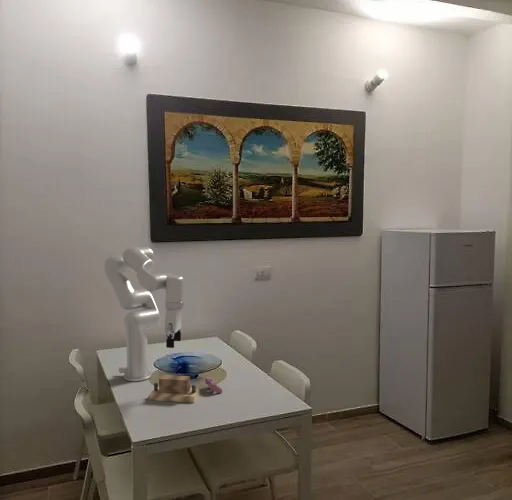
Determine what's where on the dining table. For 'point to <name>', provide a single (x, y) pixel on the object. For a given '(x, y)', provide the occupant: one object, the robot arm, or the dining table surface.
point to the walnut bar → (174, 384)
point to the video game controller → (212, 385)
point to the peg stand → (174, 395)
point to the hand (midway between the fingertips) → (173, 344)
